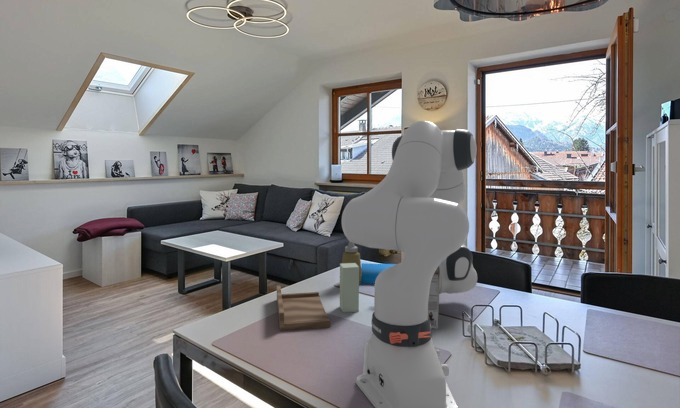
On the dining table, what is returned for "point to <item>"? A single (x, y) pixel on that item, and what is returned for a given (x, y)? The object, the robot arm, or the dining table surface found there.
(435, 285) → the coffee box
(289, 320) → the tray
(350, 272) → the sage block
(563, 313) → the dining table surface
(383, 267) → the book
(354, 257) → the squeeze bottle
